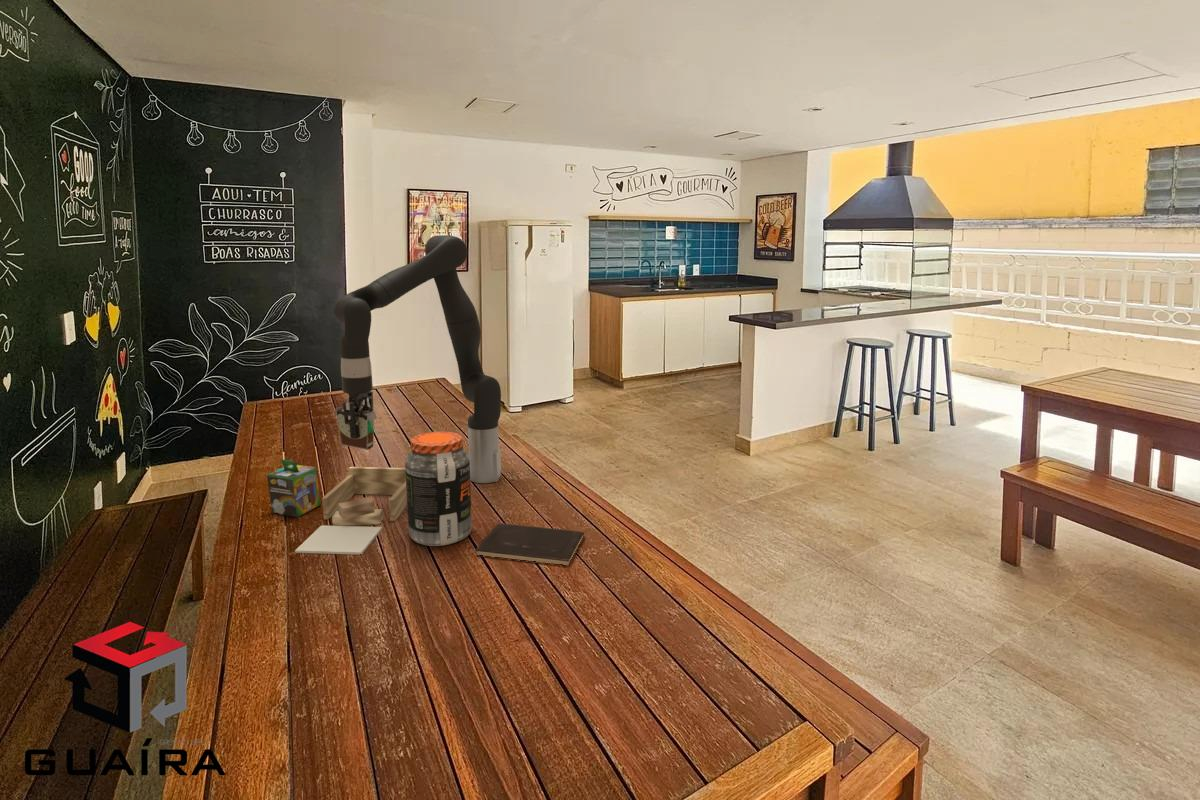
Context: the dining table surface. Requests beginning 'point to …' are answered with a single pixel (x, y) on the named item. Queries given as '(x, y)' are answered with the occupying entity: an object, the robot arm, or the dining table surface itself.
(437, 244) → the robot arm
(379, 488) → the frame
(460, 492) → the supplement tub
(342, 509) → the offcut upper
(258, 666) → the dining table surface
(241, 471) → the dining table surface
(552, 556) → the hardcover book
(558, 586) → the dining table surface
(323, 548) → the mat
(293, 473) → the chalk box
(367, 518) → the offcut lower
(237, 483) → the dining table surface
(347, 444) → the food container
